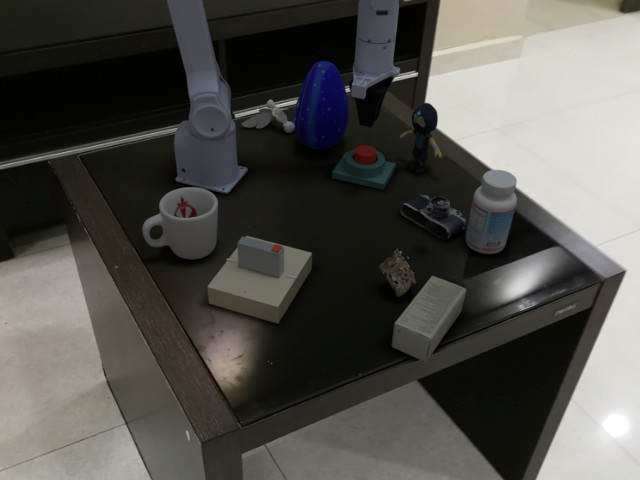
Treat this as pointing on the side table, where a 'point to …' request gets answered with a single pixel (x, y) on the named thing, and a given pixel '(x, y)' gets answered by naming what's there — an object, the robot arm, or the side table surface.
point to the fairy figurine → (269, 118)
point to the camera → (434, 215)
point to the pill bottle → (492, 212)
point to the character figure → (423, 135)
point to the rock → (398, 273)
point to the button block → (364, 171)
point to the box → (428, 318)
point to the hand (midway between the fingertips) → (368, 122)
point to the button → (365, 155)
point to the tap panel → (260, 285)
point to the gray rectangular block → (260, 256)
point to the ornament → (322, 108)
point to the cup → (186, 222)
